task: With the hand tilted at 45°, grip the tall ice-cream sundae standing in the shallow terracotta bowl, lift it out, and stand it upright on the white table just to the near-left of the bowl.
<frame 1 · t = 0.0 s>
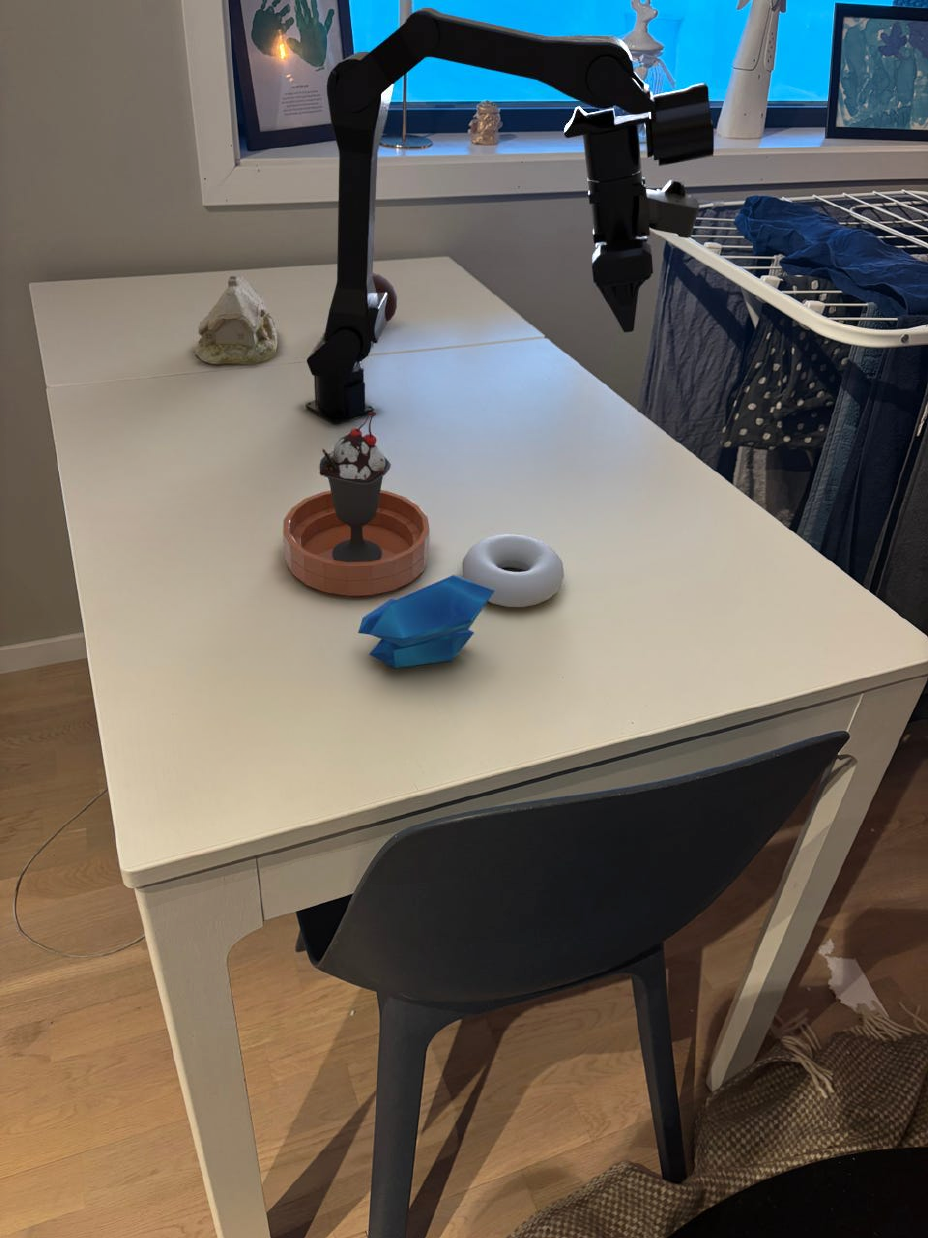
hand: (628, 317, 109), 15 cm above the table, tool pointing down, fingers open, 9 cm apart
crystal: (424, 659, 83), on the table
bowl: (357, 557, 94), on the table
sundae: (357, 555, 94), resting on bowl
ceramic model: (240, 348, 135), on the table
donut: (511, 585, 92), on the table
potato: (371, 325, 145), on the table
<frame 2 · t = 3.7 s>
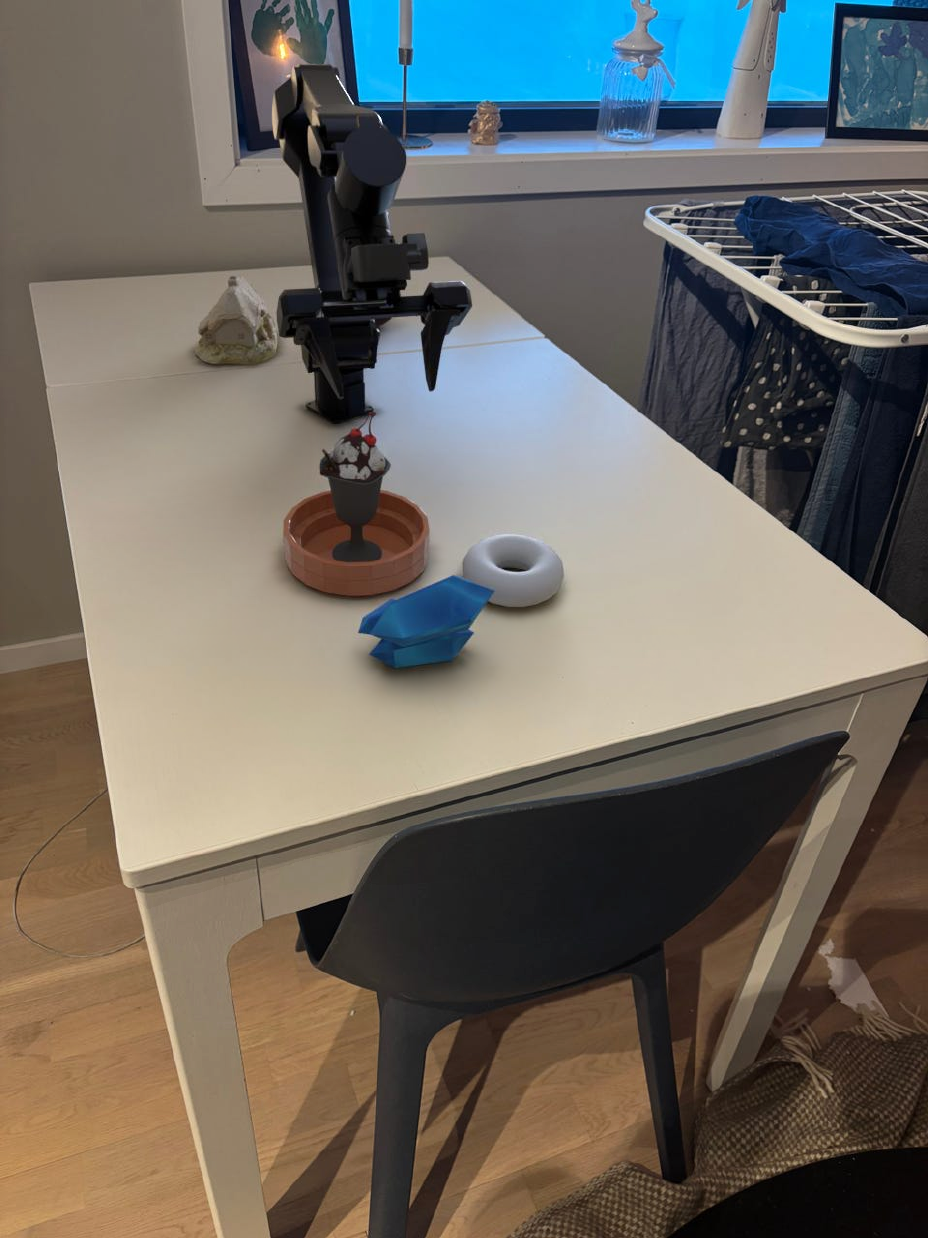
hand: (387, 393, 92), 14 cm above the table, tool tilted 40°, fingers open, 9 cm apart
nothing on the table moved.
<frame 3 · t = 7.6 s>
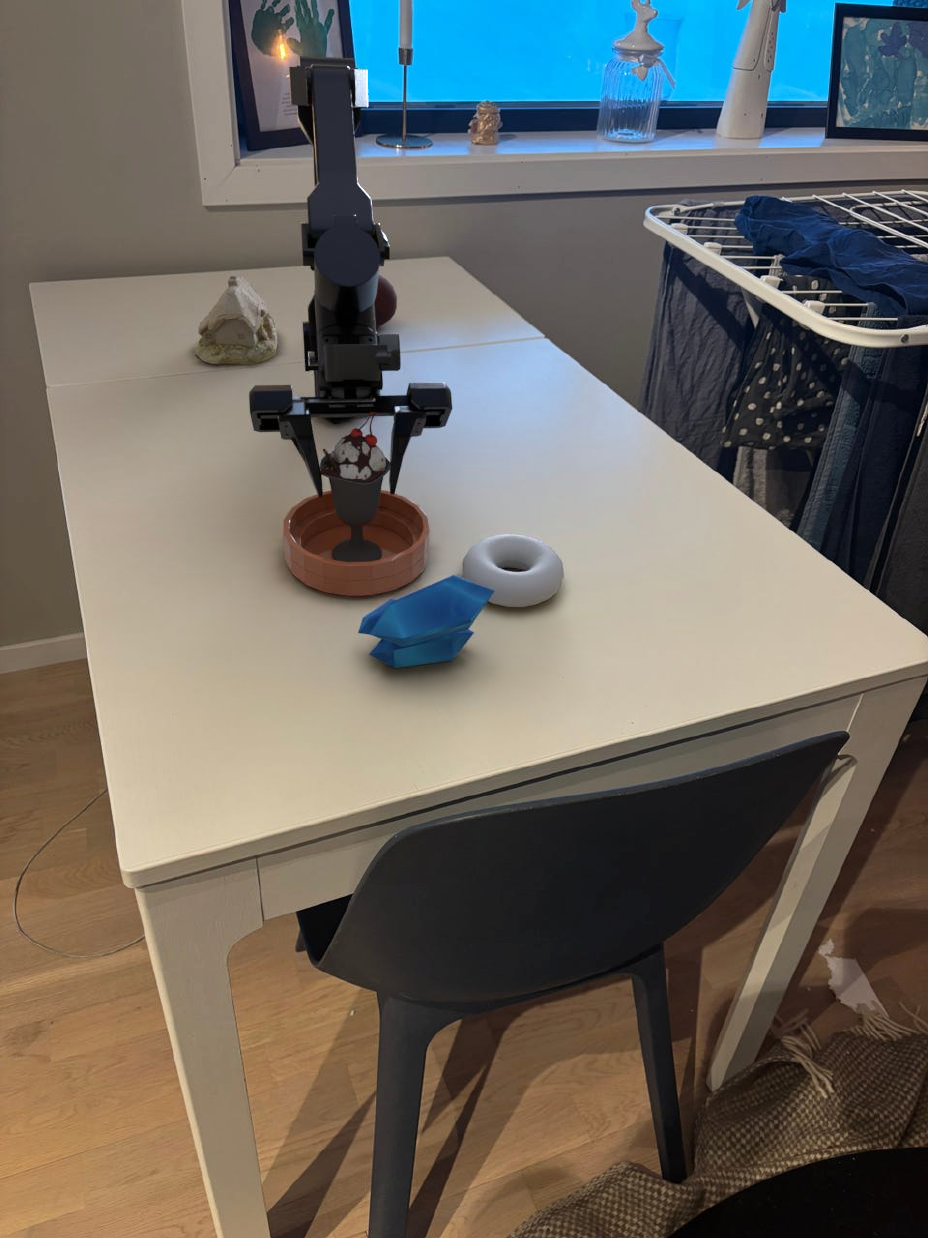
hand: (356, 494, 88), 8 cm above the table, tool tilted 45°, fingers closed on sundae, 6 cm apart
sundae: (357, 555, 94), resting on bowl, touching gripper
everything else where it was.
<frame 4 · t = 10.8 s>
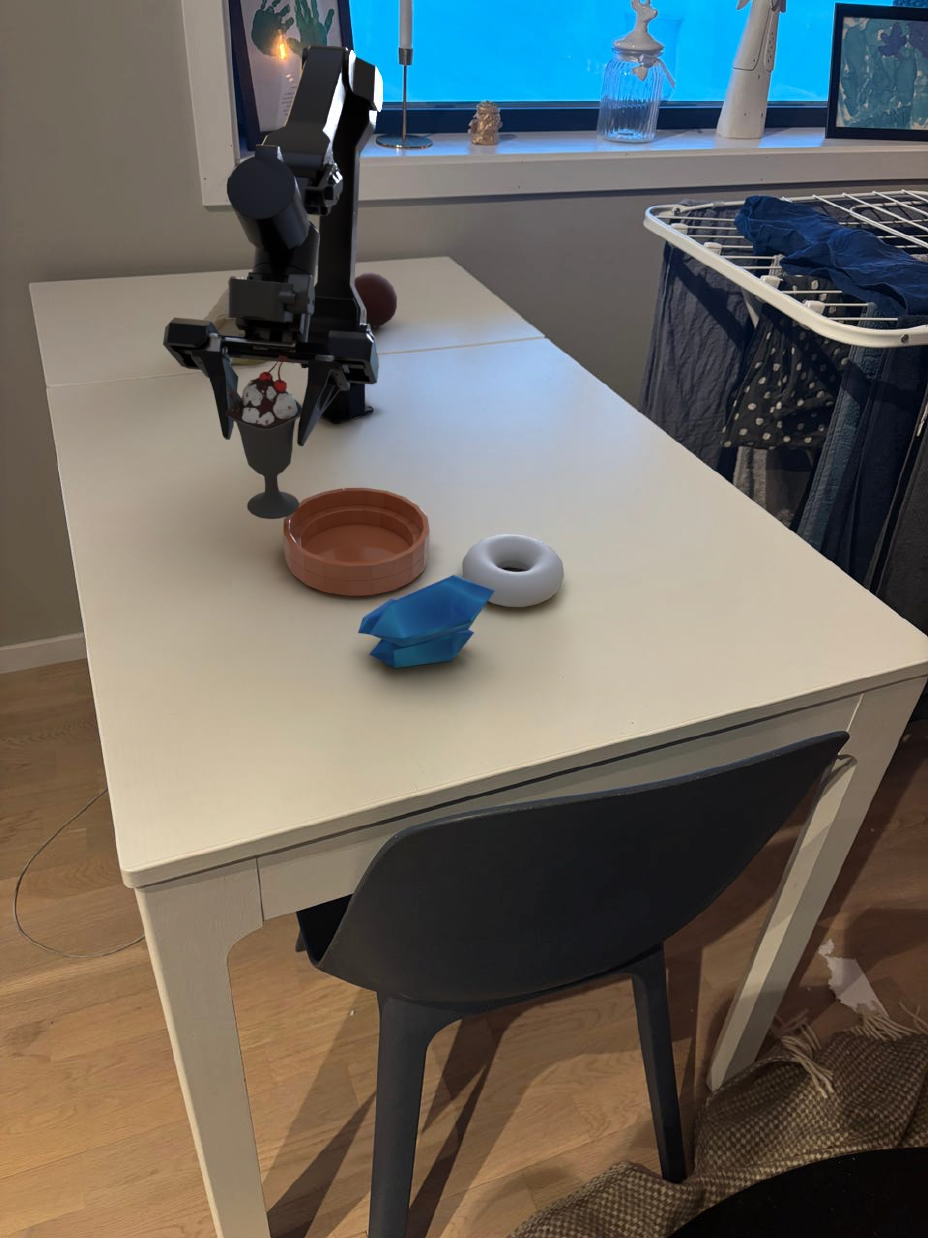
hand: (262, 441, 85), 13 cm above the table, tool tilted 45°, fingers closed on sundae, 6 cm apart
sundae: (273, 507, 91), point 5 cm above the table, touching gripper
everything else where it was.
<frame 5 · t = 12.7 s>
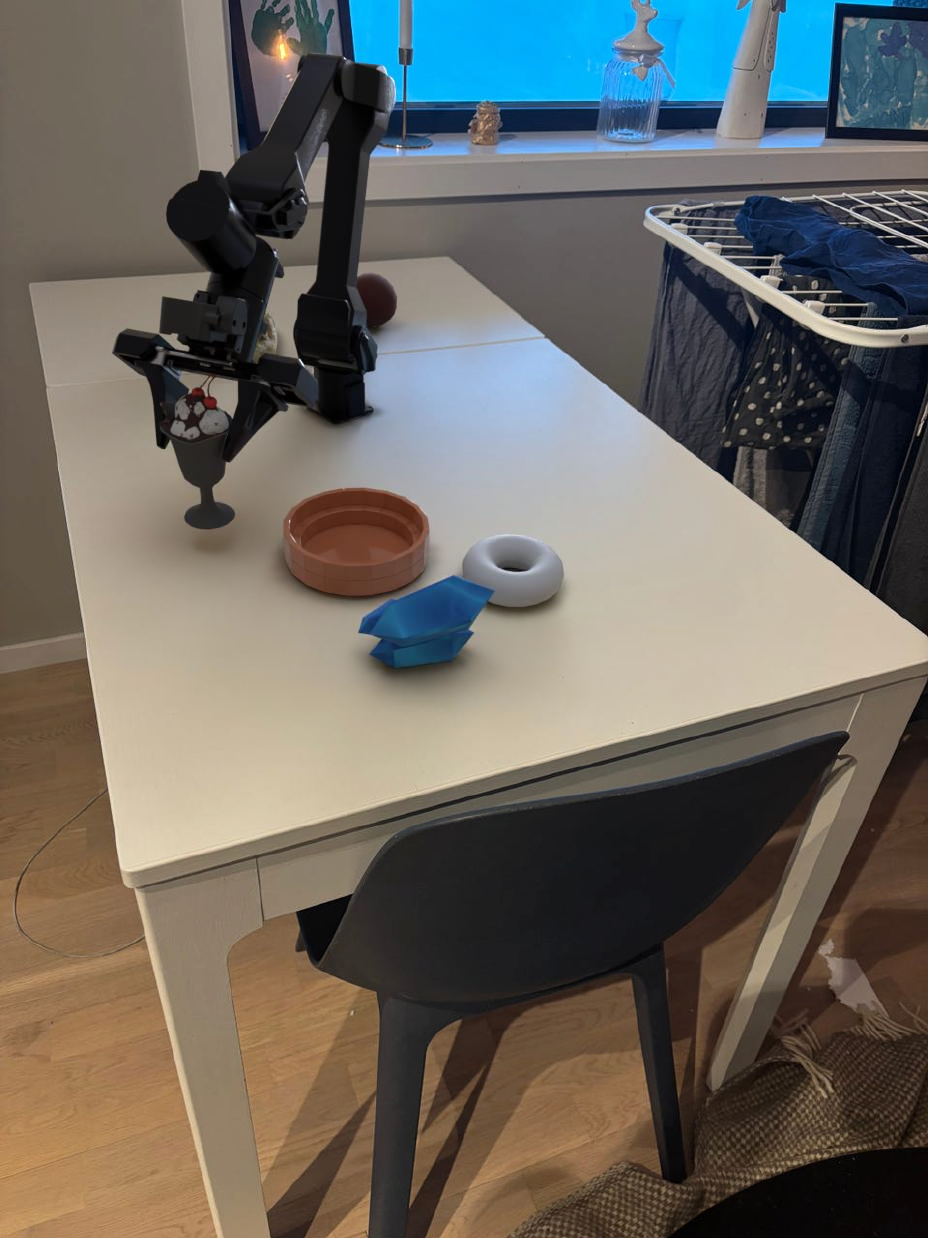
hand: (192, 454, 87), 11 cm above the table, tool tilted 45°, fingers closed on sundae, 6 cm apart
sundae: (210, 517, 93), point 3 cm above the table, touching gripper
everything else where it was.
when the fingers open (8 cm above the table, at t = 14.2 s): sundae stays where it is, on the table.
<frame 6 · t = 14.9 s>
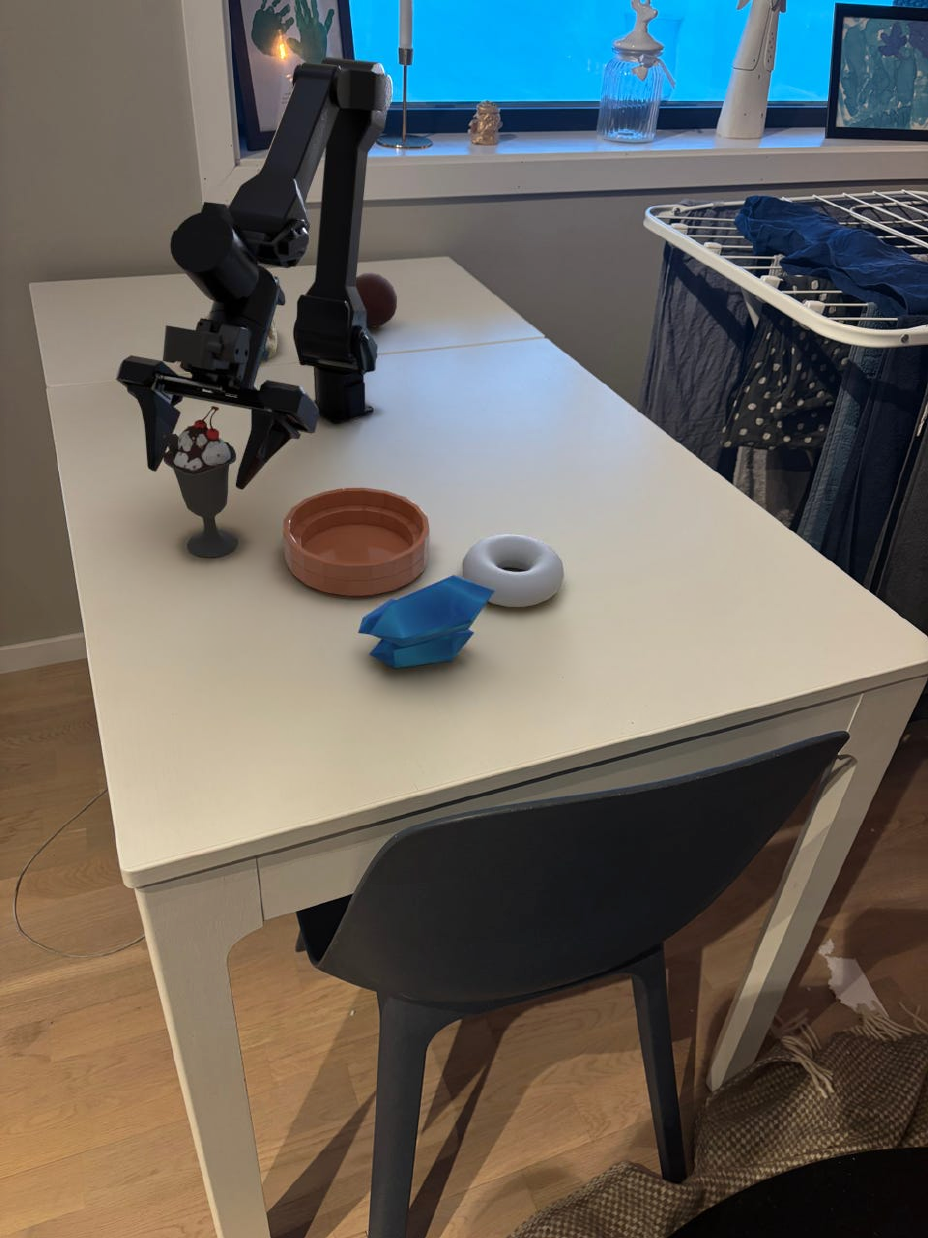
hand: (194, 479, 88), 8 cm above the table, tool tilted 45°, fingers open, 9 cm apart
sundae: (213, 545, 95), on the table
everything else where it was.
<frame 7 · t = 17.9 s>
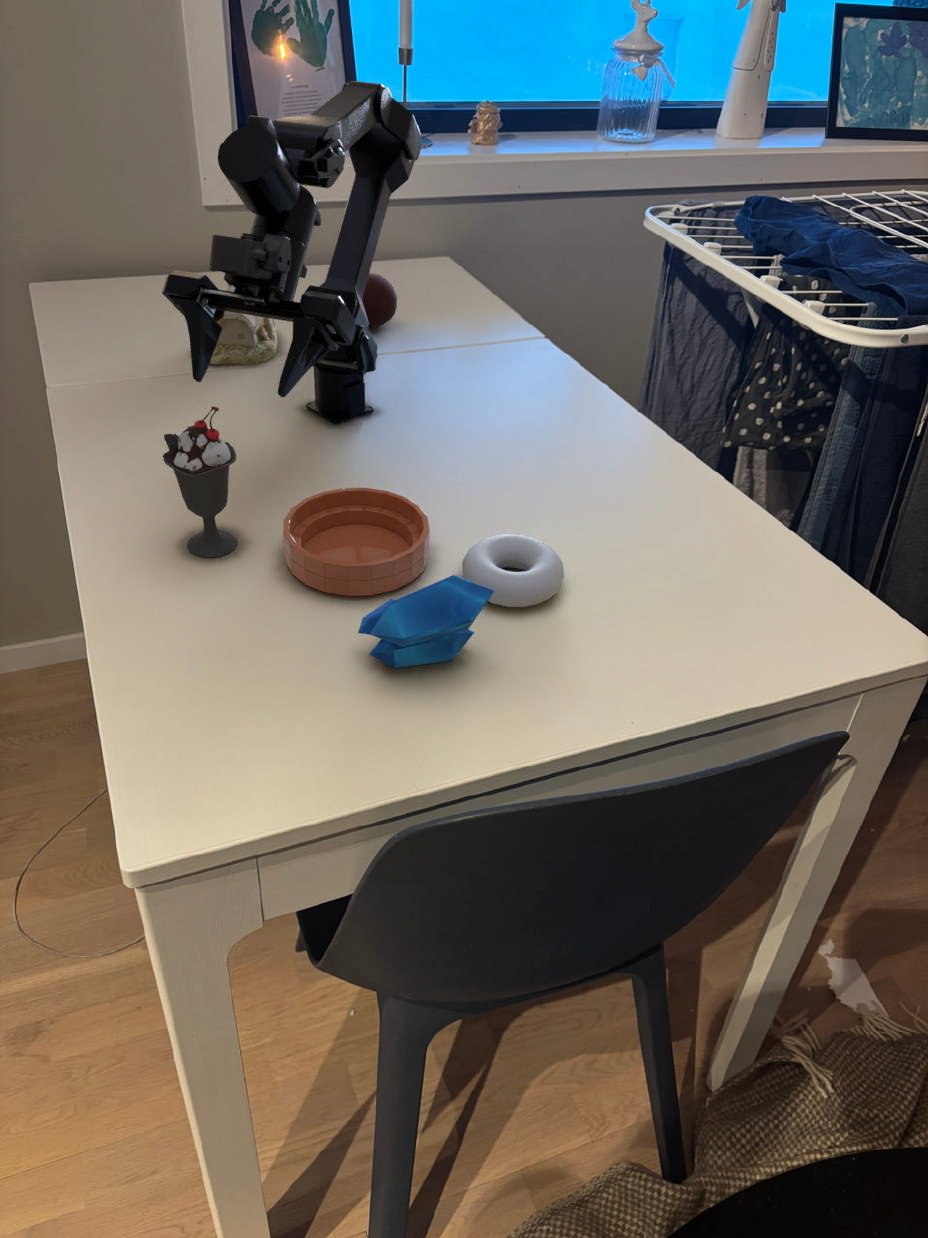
hand: (238, 387, 93), 14 cm above the table, tool tilted 45°, fingers open, 9 cm apart
nothing on the table moved.
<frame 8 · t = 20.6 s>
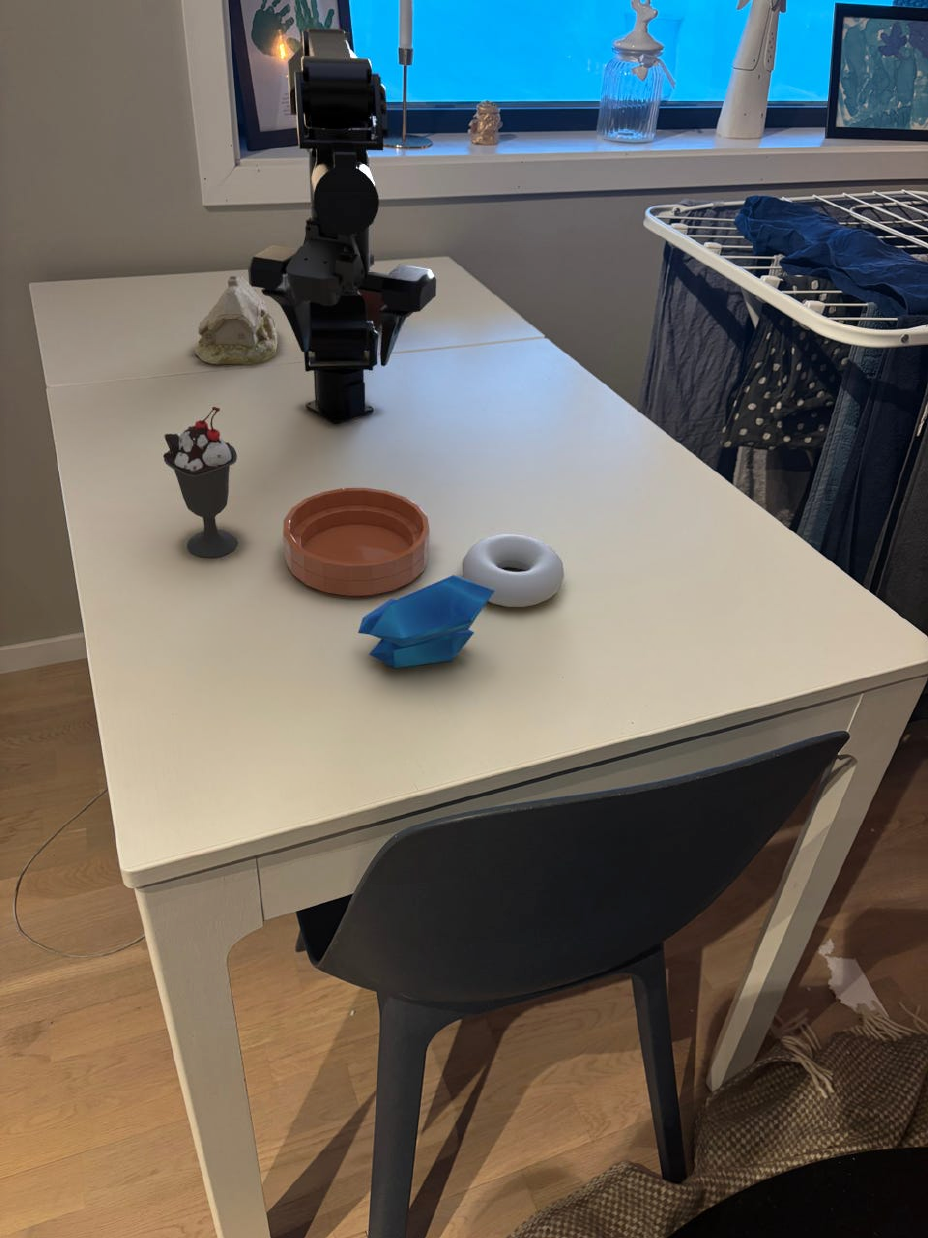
hand: (344, 357, 101), 13 cm above the table, tool pointing down, fingers open, 9 cm apart
nothing on the table moved.
at the end: sundae inside the target area (0.1 cm from its centre), on the table; sundae tilted 0°; the gripper is holding nothing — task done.
